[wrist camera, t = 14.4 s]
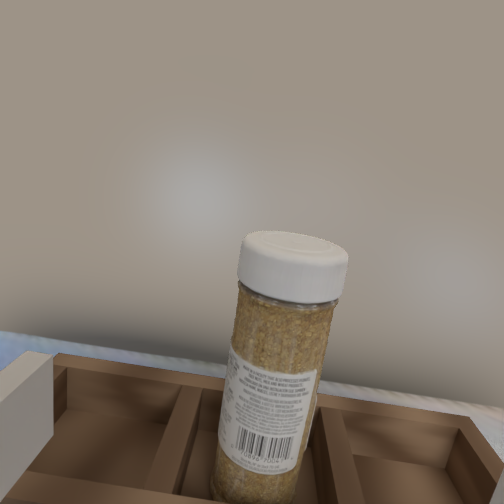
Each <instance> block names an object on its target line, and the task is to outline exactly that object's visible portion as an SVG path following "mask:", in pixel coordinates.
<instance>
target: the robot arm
mask: <svg viewBox="0 0 504 504" xmlns="http://www.w3.org/2000/svg"><path fill="white" fill-rule="evenodd" d="M53 435H54V431H53V355H51V354H45V353H39V352H32V351H26V352H24V353H23V354H22V355H20V356H19V357H18V358H17V359H15V360H14V361H13V362H12V363H10V364H9V365H8V366H7V367H5V368H4V369H3V370H2V371H0V502H1V501H2V499H3V498H4V497H5V496H6V494H7V493H8V492H9V491H10V489H11V488H12V487H13V485H14V484H15V483H16V482H17V480H18V479H19V478H20V477H21V475H22V474H23V473H24V472H25V470H26V469H27V468H28V466H29V465H30V464H31V463H32V461H33V460H34V459H35V458H36V456H37V455H38V454H39V453H40V451H41V450H42V449H43V447H44V446H45V445H46V444H47V442H48V441H49V440H50V439H51V437H52V436H53ZM489 504H504V469H503V471H502V474H501V476H500V479H499V481H498V483H497V486H496V488H495V491H494V493H493V496H492V498H491V501H490V503H489Z"/></svg>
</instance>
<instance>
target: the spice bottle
mask: <svg viewBox="0 0 504 504" xmlns="http://www.w3.org/2000/svg"><path fill="white" fill-rule="evenodd" d="M348 259H349V257H348V254H347V252H346V251H345V250H344V249H343V248H341V247H340V246H338V245H336V244H334V243H332V242H329V241H327V240H323V239H320V238H317V237H313V236H309V235H303V234H298V233H292V232H283V231H257V232H253V233H250V234H248V235H246V236H245V237H244V239H243V241H242V245H241V251H240V257H239V264H238V272H237V274H238V278H239V281H238V287H239V295H238V304H237V310H236V318H235V323H234V330H233V336H232V338H231V342H230V350H229V358H228V365H227V372H226V378H225V386H224V393H223V400H222V406H221V414H220V421H219V428H218V444H217V451H216V459H215V465H214V468H213V470H212V473H211V477H210V492H211V494H212V497H213V500H214V501H217V502H223V503H229V504H295V500H296V497H297V491H296V484H297V481H298V475H299V471H300V466H301V462H302V458H303V453H304V451H305V450H306V447H307V442H308V438H309V433H310V429H311V424H312V419H313V415H314V411H315V406H316V401H317V389H318V385H319V380H320V376H321V371H322V365H323V360H324V355H325V350H326V346H327V339H328V336H329V331H330V323H331V321H332V317H333V309H334V308H335V306H336V305H337V304H338V297H340V296H341V294H342V292H343V287H344V282H345V277H346V272H347V266H348Z"/></svg>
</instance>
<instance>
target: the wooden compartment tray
mask: <svg viewBox="0 0 504 504" xmlns="http://www.w3.org/2000/svg"><path fill="white" fill-rule="evenodd" d="M224 386H225V379H223V378H217V377H210V376H204V375H197V374H191V373H184V372H178V371H172V370H165V369H159V368H152V367H146V366H139V365H133V364H127V363H120V362H114V361H107V360H101V359H95V358H88V357H82V356H75V355H69V354H62V353H58V354H57V355H56V356H55V357H54V358H53V431H54V435H53V436H52V437H51V439H50V440H49V441H48V442H47V444H46V445H45V446H44V447H43V449H42V450H41V451H40V453H39V454H38V455H37V456H36V458H35V459H34V460H33V461H32V463H31V464H30V465H29V466H28V468H27V469H26V470H25V472H24V473H23V474H22V475H21V477H20V478H19V479H18V480H17V482H16V483H15V484H14V485H13V487H12V488H11V489H10V491H9V492H8V493H7V494H6V496H5V497H4V498H3V499H2V501H1V502H0V504H229V503H223V502H217V501H214V500H213V497H212V494H211V492H210V477H211V473H212V470H213V468H214V465H215V459H216V451H217V444H218V428H219V421H220V414H221V406H222V400H223V393H224ZM503 469H504V463H503V462H502V461H501V459H500V458H499V456H498V455H497V454H496V452H495V451H494V450H493V448H492V447H491V446H490V444H489V443H488V442H487V440H486V439H485V438H484V436H483V435H482V434H481V432H480V431H479V430H478V428H477V427H476V426H475V424H474V423H473V421H472V420H471V419H470V417H467V416H460V415H454V414H448V413H441V412H435V411H428V410H422V409H416V408H409V407H403V406H396V405H390V404H383V403H377V402H371V401H364V400H358V399H351V398H345V397H339V396H332V395H326V394H319V393H317V401H316V406H315V411H314V415H313V419H312V424H311V429H310V433H309V438H308V442H307V447H306V450H305V451H304V453H303V458H302V462H301V466H300V471H299V475H298V481H297V484H296V491H297V497H296V500H295V504H489V503H490V501H491V498H492V496H493V493H494V491H495V488H496V486H497V483H498V481H499V479H500V476H501V474H502V471H503Z"/></svg>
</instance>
